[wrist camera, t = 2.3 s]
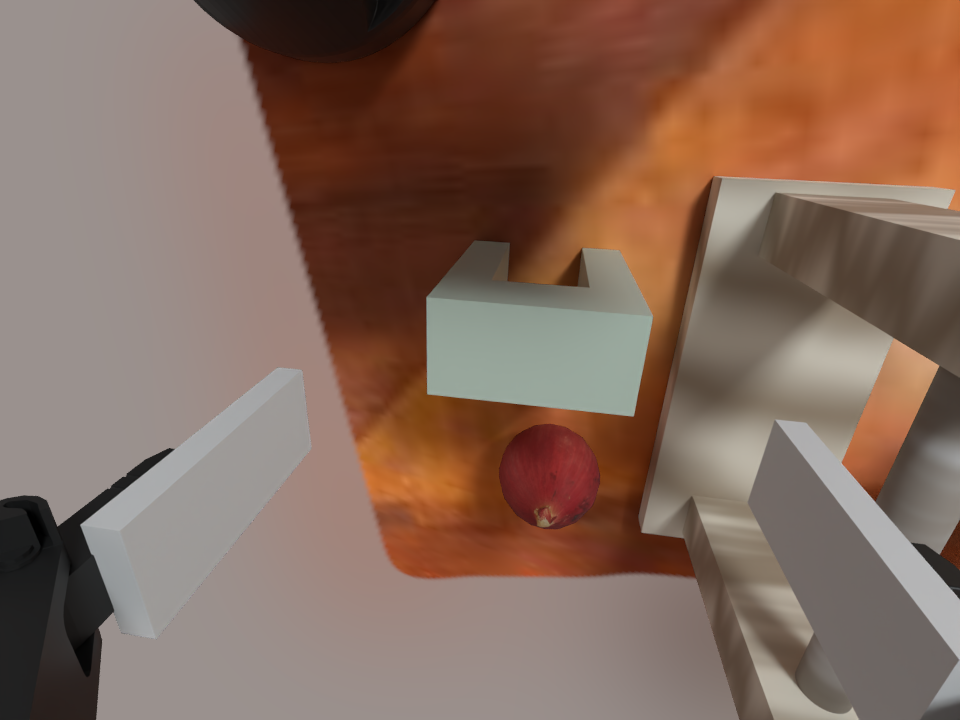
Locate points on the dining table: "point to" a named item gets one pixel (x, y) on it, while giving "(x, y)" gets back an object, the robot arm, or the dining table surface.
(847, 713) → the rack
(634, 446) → the dining table surface
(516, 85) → the dining table surface
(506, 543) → the dining table surface
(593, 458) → the onion
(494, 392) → the grey u-shaped block
